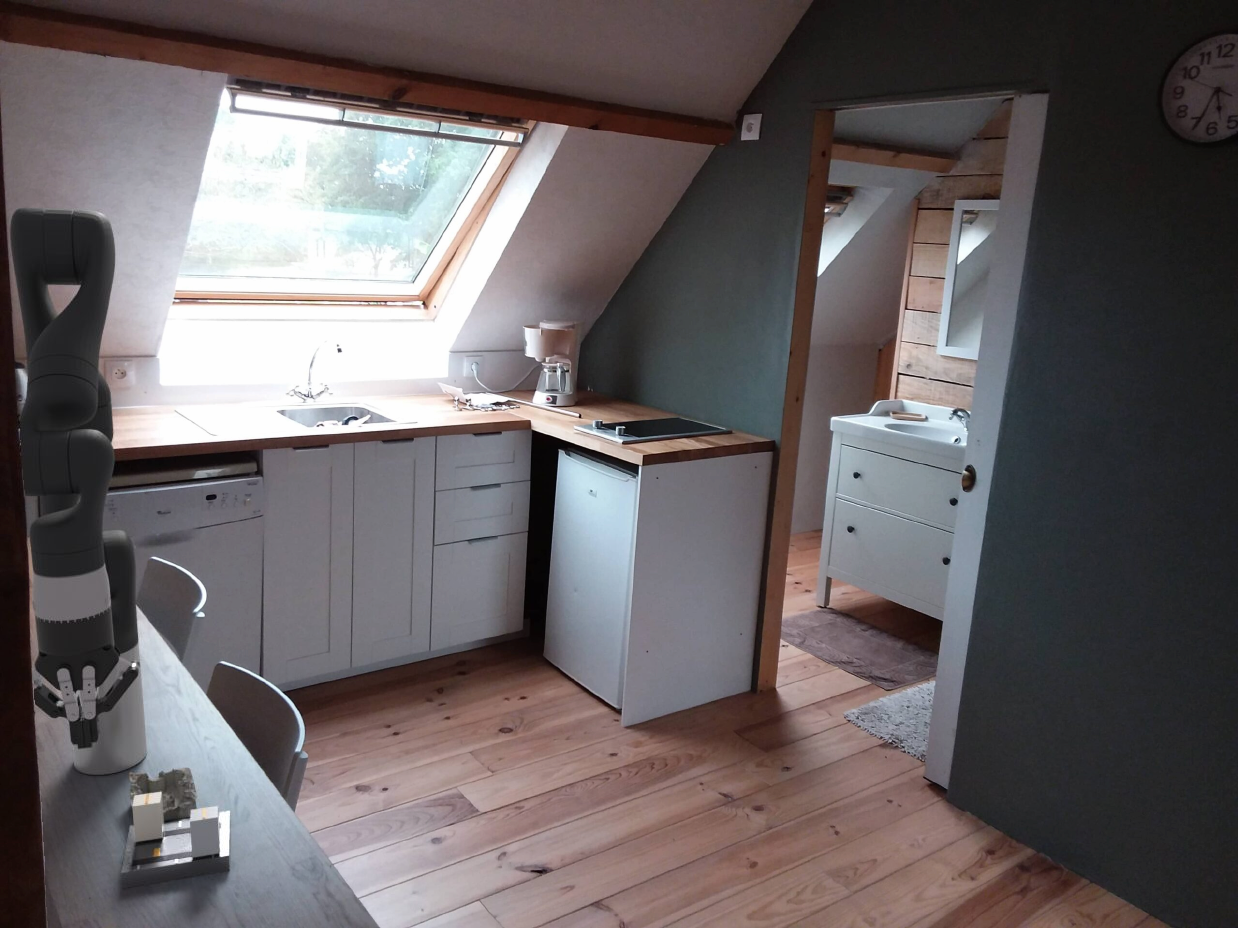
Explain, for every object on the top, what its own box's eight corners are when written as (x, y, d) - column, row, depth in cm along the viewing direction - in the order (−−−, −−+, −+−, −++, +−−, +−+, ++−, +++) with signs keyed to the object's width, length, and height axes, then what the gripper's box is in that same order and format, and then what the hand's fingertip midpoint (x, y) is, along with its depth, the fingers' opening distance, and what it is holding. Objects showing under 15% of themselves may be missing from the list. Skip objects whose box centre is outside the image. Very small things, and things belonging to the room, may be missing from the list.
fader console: (131, 839, 123) (129, 824, 122) (230, 824, 127) (229, 809, 126) (122, 887, 114) (121, 872, 114) (229, 869, 118) (228, 854, 118)
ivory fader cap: (137, 830, 121) (134, 794, 120) (164, 826, 122) (161, 790, 121) (135, 841, 119) (132, 805, 118) (162, 837, 120) (160, 801, 119)
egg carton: (128, 797, 131) (126, 769, 131) (190, 783, 135) (188, 756, 134) (135, 840, 122) (133, 810, 122) (201, 824, 126) (199, 795, 125)
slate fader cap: (193, 845, 119) (190, 809, 117) (220, 840, 120) (218, 805, 118) (192, 857, 116) (189, 820, 115) (219, 852, 117) (217, 816, 116)
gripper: (141, 588, 117) (151, 722, 121) (12, 598, 112) (27, 737, 116) (135, 611, 110) (146, 753, 114) (-3, 623, 105) (14, 770, 109)
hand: (86, 744), depth 115 cm, fingers closed
